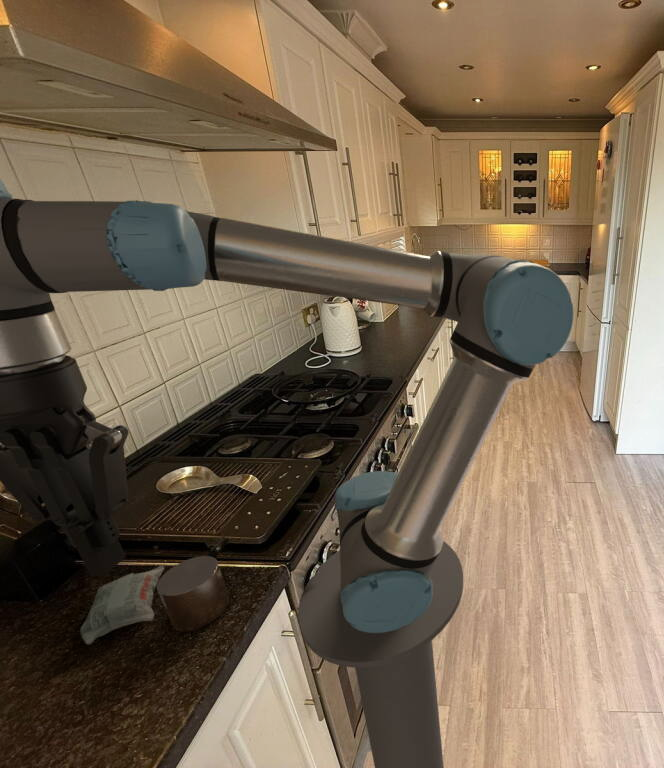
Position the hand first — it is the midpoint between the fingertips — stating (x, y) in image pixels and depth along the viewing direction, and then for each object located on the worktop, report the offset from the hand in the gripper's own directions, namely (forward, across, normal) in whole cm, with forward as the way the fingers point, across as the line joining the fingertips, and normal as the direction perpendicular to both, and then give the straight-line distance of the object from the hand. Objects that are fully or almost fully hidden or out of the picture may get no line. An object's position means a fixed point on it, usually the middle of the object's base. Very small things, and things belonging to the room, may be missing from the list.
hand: (108, 566), depth 45 cm
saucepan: (+26, -8, +20) cm, 34 cm away
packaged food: (+27, -19, +17) cm, 37 cm away
